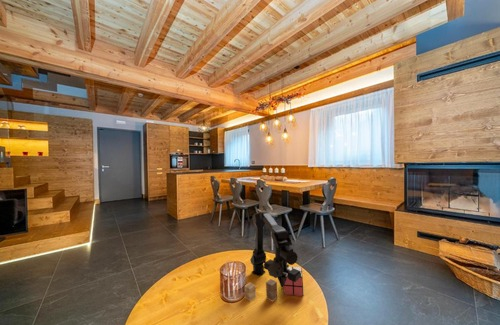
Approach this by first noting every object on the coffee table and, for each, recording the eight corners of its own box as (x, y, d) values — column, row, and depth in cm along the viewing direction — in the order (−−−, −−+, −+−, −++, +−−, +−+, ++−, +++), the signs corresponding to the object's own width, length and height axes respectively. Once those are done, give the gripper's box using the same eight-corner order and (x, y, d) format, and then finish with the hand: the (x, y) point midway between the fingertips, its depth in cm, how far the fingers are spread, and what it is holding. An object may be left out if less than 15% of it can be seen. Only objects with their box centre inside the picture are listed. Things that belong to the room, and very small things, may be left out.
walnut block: (266, 298, 98) (265, 282, 99) (271, 294, 101) (270, 278, 102) (272, 301, 96) (272, 285, 96) (277, 297, 99) (276, 281, 99)
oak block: (244, 297, 100) (244, 285, 100) (250, 293, 103) (249, 282, 103) (250, 300, 97) (249, 289, 97) (255, 296, 100) (255, 285, 100)
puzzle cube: (303, 296, 99) (302, 277, 99) (284, 294, 101) (283, 275, 101) (302, 284, 108) (301, 266, 109) (284, 283, 110) (283, 265, 111)
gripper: (256, 255, 95) (257, 287, 95) (288, 268, 82) (289, 304, 82) (270, 248, 103) (271, 277, 103) (301, 258, 90) (302, 291, 90)
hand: (282, 286), depth 94 cm, fingers closed
